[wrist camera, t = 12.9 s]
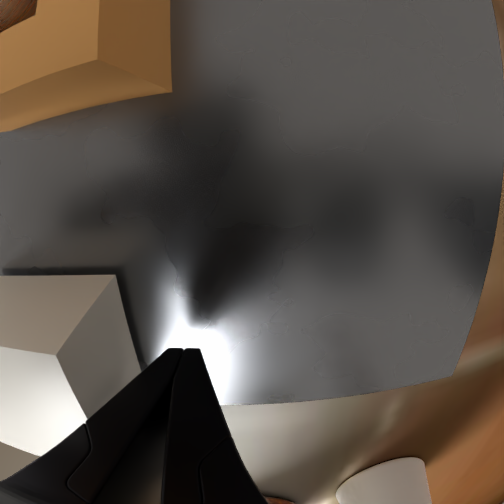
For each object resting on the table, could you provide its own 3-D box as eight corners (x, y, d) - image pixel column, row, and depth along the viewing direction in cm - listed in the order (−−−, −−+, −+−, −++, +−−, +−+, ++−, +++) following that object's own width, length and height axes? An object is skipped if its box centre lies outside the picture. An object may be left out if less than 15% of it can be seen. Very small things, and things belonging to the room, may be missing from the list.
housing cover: (115, 274, 8) (55, 355, 5) (148, 393, 9) (124, 477, 6) (-9, 275, 8) (-72, 328, 5) (33, 378, 9) (-5, 439, 6)
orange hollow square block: (172, -69, 5) (132, -157, 1) (172, 92, 7) (97, 58, 3) (18, -15, 5) (-64, -46, 1) (9, 131, 7) (-97, 151, 3)
